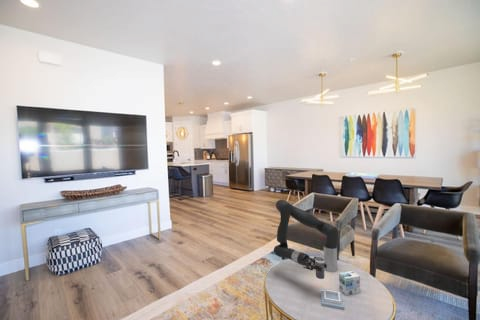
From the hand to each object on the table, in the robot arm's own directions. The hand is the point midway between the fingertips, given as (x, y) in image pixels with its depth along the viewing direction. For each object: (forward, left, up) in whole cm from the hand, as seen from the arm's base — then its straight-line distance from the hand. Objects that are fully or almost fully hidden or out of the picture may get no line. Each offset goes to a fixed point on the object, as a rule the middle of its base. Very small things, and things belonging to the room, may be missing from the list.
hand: (323, 268), depth 133 cm
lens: (-1, -2, -6) cm, 7 cm away
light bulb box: (-12, +15, -19) cm, 27 cm away
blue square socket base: (+1, +4, -19) cm, 19 cm away
